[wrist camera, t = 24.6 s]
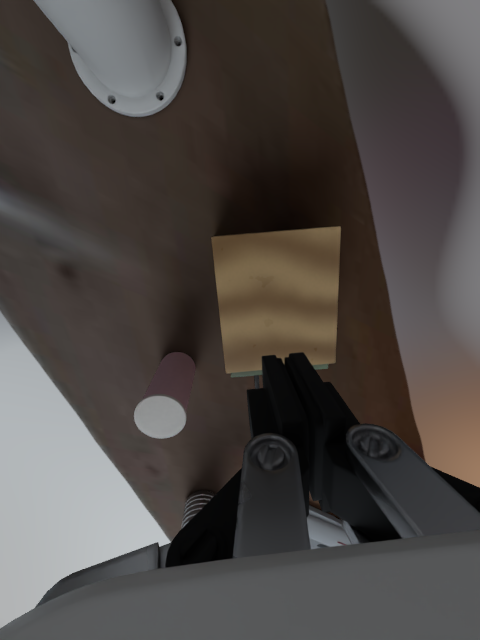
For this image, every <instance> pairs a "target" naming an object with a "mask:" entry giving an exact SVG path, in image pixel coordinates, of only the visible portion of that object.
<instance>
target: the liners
mask: <svg viewBox="0 0 480 640" xmlns="http://www.w3.org/2000/svg"><path fill="white" fill-rule="evenodd" d="M195 369H196V367H195V363H194V361H193V360H192V358H191V357H190V356H188V355H187V354H185V353H181V352H173V353H170V354H168V355H166V356H165V357H164V358H163V359H162V361H161V363H160V365H159V367H158V369H157V371H156V373H155V375H154V377H153V379H152V381H151V383H150V385H149V387H148V389H147V391H146V393H145V395H144V397H143V399H142V400H141V401H140V402H139V404H138V405H137V407H136V409H135V412H134V420H135V423H136V425H137V427H138V428H139V429H140V430H141V431H142V432H143V433H145V434H146V435H148V436H151V437H154V438H169V437H172V436H174V435H176V434H178V433H179V432H180V431H181V430H182V429H183V427H184V426H185V423H186V417H187V415H186V411H187V406H188V402H189V397H190V393H191V388H192V384H193V379H194V375H195Z"/></svg>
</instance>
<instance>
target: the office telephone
mask: <svg viewBox="0 0 480 640" xmlns="http://www.w3.org/2000/svg"><path fill="white" fill-rule="evenodd" d="M307 524H308V531H309V539H310V546H311V549H317V548H326V547H334V546H343V545H351V543H350V541H349V539H348V537H347V535H346V534H345V532H344V529H343V527H342V524H341V520H340V519H337V518H336V517H334V516H332V515H330V514H328V513H325V512H324V513H323V512H322V511H321V510H319V509H316V508H314V507H312V506H310V505H309V515H308V517H307Z"/></svg>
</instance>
